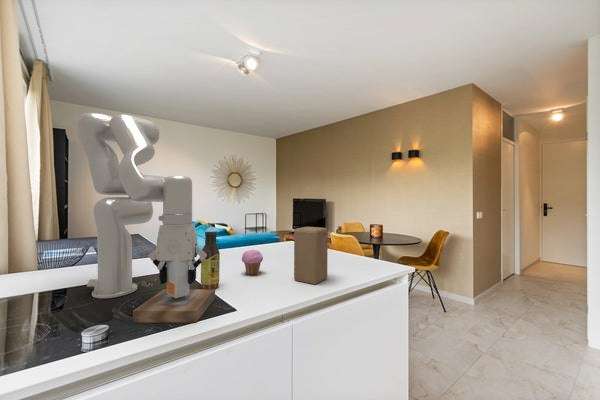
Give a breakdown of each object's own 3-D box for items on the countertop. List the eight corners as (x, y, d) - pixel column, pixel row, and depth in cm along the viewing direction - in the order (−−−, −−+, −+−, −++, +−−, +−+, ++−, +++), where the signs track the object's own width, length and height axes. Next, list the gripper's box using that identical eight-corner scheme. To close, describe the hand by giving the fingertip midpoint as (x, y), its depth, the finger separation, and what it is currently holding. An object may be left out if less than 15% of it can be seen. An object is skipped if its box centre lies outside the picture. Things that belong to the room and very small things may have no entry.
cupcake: (264, 275, 111) (264, 251, 110) (242, 277, 108) (242, 252, 108) (261, 270, 119) (261, 247, 119) (240, 271, 117) (240, 248, 117)
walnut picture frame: (132, 322, 69) (132, 309, 69) (163, 298, 85) (163, 288, 85) (196, 322, 70) (196, 310, 70) (215, 298, 86) (215, 288, 86)
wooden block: (328, 278, 107) (328, 227, 107) (315, 285, 99) (316, 230, 99) (306, 274, 113) (306, 226, 112) (293, 280, 104) (293, 228, 104)
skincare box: (165, 293, 78) (165, 251, 78) (180, 289, 81) (180, 249, 81) (174, 298, 74) (174, 254, 74) (190, 294, 77) (190, 252, 77)
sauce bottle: (213, 291, 93) (213, 232, 92) (197, 289, 94) (197, 232, 94) (222, 284, 99) (222, 230, 99) (207, 283, 100) (207, 229, 100)
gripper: (139, 221, 73) (139, 287, 74) (204, 221, 74) (204, 287, 74) (154, 218, 81) (154, 278, 81) (212, 219, 81) (212, 278, 81)
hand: (178, 282), depth 77 cm, fingers closed on skincare box, 7 cm apart
